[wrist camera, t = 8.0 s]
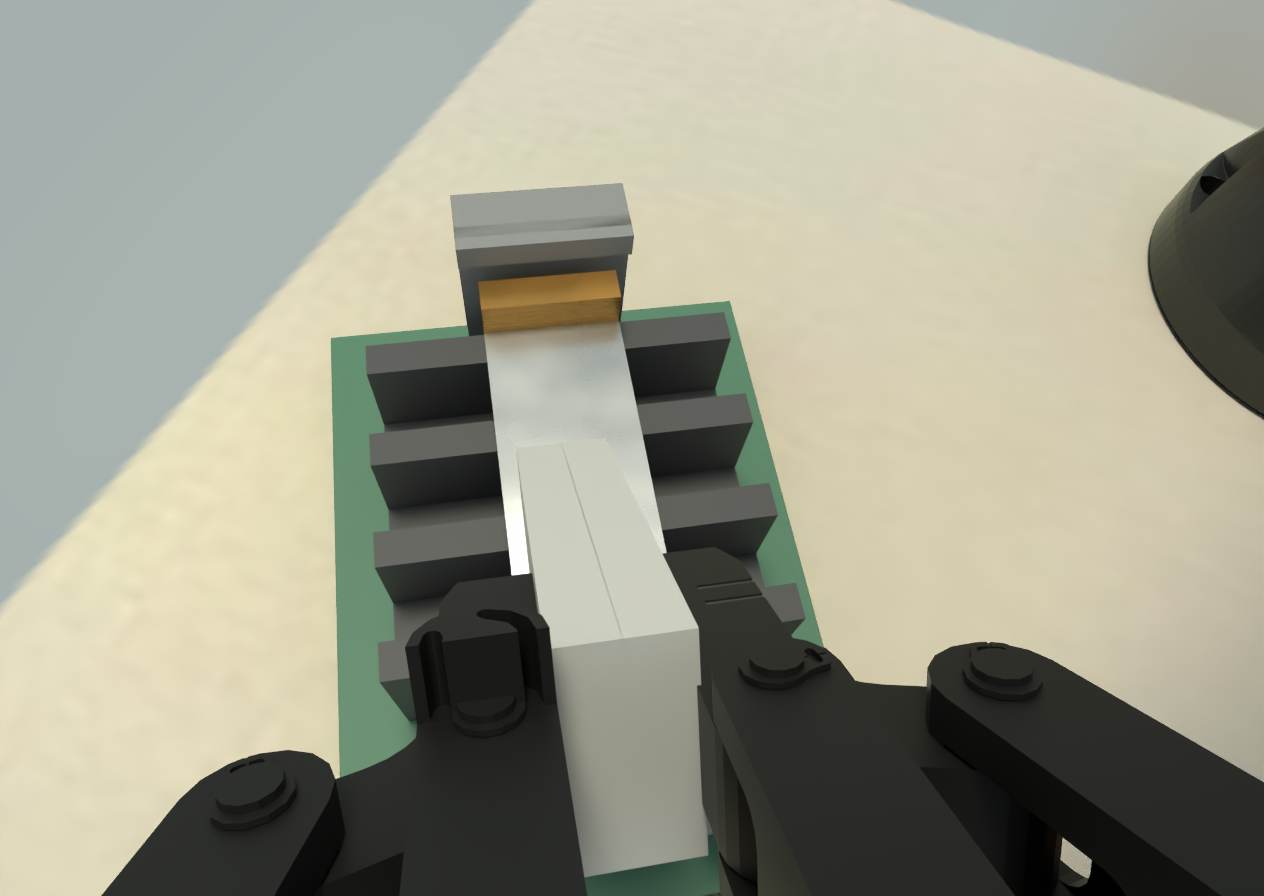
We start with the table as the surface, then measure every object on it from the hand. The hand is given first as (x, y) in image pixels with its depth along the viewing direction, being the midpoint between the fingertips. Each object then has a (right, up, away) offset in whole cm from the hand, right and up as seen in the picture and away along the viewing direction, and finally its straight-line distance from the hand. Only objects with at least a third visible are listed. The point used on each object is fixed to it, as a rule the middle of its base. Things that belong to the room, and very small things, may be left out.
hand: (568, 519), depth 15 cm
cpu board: (-1, -3, +15) cm, 16 cm away
